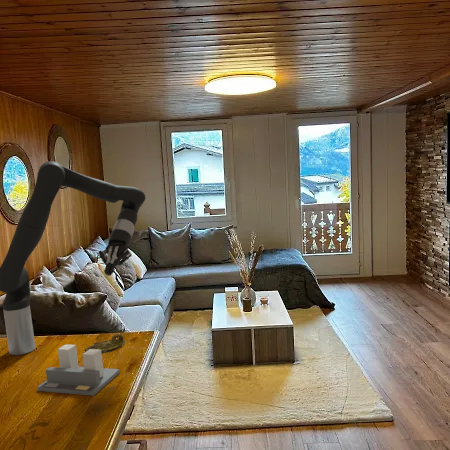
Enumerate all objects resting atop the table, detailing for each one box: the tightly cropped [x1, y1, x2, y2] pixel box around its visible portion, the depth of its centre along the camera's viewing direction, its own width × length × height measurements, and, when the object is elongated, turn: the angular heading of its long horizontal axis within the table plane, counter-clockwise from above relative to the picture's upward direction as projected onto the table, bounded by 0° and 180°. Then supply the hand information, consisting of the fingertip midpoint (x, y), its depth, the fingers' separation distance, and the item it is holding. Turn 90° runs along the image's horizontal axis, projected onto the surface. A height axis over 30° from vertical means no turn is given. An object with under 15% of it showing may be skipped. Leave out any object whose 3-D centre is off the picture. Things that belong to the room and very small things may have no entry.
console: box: [36, 366, 121, 396], centre depth 143 cm, size 15×20×5 cm
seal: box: [84, 334, 127, 354], centre depth 170 cm, size 9×5×15 cm
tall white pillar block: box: [82, 349, 104, 378], centre depth 141 cm, size 4×4×8 cm
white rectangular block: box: [57, 343, 80, 369], centre depth 147 cm, size 4×4×8 cm
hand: (107, 274), depth 158 cm, fingers closed
